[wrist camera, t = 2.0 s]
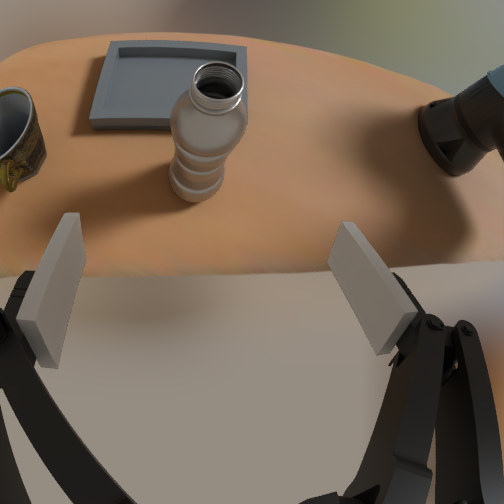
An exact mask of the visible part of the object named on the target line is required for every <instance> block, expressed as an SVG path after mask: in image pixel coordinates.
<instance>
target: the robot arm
mask: <svg viewBox="0 0 504 504" xmlns="http://www.w3.org/2000/svg"><path fill="white" fill-rule="evenodd" d="M418 125H419V130H420V134H421V137H422V139H423V142H424V144H425V146H426V148H427V150H428V151H429V153H430V154H431V156H432V157H433V159H434V160H435V161H436V162H437V163H438V165H439V166H440V167H442V168H443V169H444V170H445V171H447V172H448V173H450V174H452V175H456V176H460V175H463V174H465V173H467V172H469V171H471V170H472V169H473V168H474V167H475V166H476V165H477V164H478V163H479V161H480V160H481V159H482V158H483V157H484V156H485V155H486V154H487V153H488V152H490V151H492V150H494V149H497V150H498V152H499V154H500V156H501V158H502V160H503V162H504V65H501V66H500V67H498V68H496V69H495V70H493V71H489V72H488V73H487V75H486V76H485V77H483V78H481V79H480V80H479V81H477V82H476V83H474V84H473V85H471V86H470V87H468V88H467V89H465V90H464V91H462V92H461V93H459V94H458V95H456V96H455V97H451V98H446V99H442V100H437V101H433V102H430V103H429V104H427V105H426V106H425V107H423V108H422V109H421V111H420V113H419V116H418ZM85 262H86V254H85V248H84V242H83V236H82V229H81V222H80V214H79V213H64V215H63V217H62V219H61V221H60V222H59V224H58V226H57V228H56V230H55V232H54V234H53V236H52V238H51V240H50V242H49V244H48V246H47V248H46V250H45V252H44V254H43V256H42V258H41V260H40V262H39V265H38V267H37V269H36V271H25V272H24V273H23V274H22V275H21V276H20V277H19V278H18V279H17V282H16V284H15V286H14V290H12V293H11V295H10V297H9V299H8V302H7V304H6V307H5V309H4V311H3V310H2V308H0V389H1V388H2V389H3V391H4V393H5V395H6V397H7V399H8V401H9V403H10V405H11V407H12V409H13V411H14V413H15V415H16V417H17V419H18V421H19V423H20V424H21V426H22V428H23V430H24V431H25V433H26V435H27V436H28V438H29V440H30V442H31V443H32V445H33V447H34V448H35V450H36V451H37V453H38V454H39V456H40V458H41V459H42V461H43V462H44V464H45V465H46V467H47V468H48V470H49V471H50V473H51V474H52V476H53V477H54V478H55V480H56V481H57V483H58V484H59V485H60V487H61V488H62V489H63V491H64V492H65V493H66V495H67V496H68V497H69V499H70V500H71V501H72V502H73V504H137V503H136V502H135V501H134V500H133V499H132V498H131V497H130V496H129V495H128V494H127V493H126V492H125V491H124V490H123V489H122V488H121V487H120V485H119V484H118V483H117V482H116V481H115V480H114V479H113V478H112V477H111V475H110V474H109V473H108V472H107V471H106V470H105V468H104V467H103V466H102V465H101V464H100V463H99V461H98V460H97V459H96V458H95V457H94V455H93V454H92V453H91V452H90V450H89V449H88V448H87V446H86V445H85V444H84V443H83V441H82V440H81V439H80V437H79V436H78V435H77V433H76V432H75V431H74V429H73V428H72V426H71V425H70V424H69V422H68V421H67V419H66V418H65V416H64V415H63V414H62V412H61V411H60V409H59V408H58V406H57V405H56V403H55V401H54V400H53V399H52V397H51V395H50V394H49V392H48V390H47V389H46V387H45V385H44V384H43V382H42V380H41V379H40V377H39V375H38V374H37V372H36V370H35V368H34V365H35V361H36V359H37V361H38V363H39V365H40V366H41V367H45V368H54V369H58V366H59V361H60V356H61V352H62V347H63V342H64V338H65V334H66V330H67V326H68V322H69V318H70V313H71V310H72V306H73V303H74V299H75V295H76V292H77V288H78V285H79V282H80V278H81V275H82V272H83V269H84V266H85ZM327 264H328V265H329V267H330V269H331V271H332V272H333V274H334V276H335V278H336V280H337V281H338V283H339V285H340V287H341V289H342V290H343V292H344V294H345V296H346V298H347V300H348V302H349V304H350V305H351V307H352V309H353V311H354V313H355V315H356V317H357V318H358V320H359V322H360V324H361V326H362V328H363V330H364V332H365V334H366V336H367V338H368V340H369V342H370V344H371V346H372V348H373V350H374V351H375V353H376V355H382V354H388V353H390V352H391V351H392V349H393V348H394V346H395V345H397V347H398V349H399V351H398V352H397V354H396V355H395V356H394V358H393V359H392V360H391V362H390V363H389V366H391V365H392V363H394V364H393V368H392V372H391V375H390V379H389V383H388V386H387V389H386V393H385V396H384V399H383V403H382V406H381V409H380V413H379V415H378V418H377V422H376V425H375V428H374V431H373V434H372V436H371V439H370V442H369V445H368V447H367V450H366V453H365V455H364V458H363V460H362V463H361V466H360V468H359V471H358V473H357V475H356V477H355V479H354V480H353V482H352V483H351V484H350V485H349V487H348V488H347V489H346V491H345V493H344V494H343V496H338V494H337V492H333V493H329V494H325V495H322V496H318V497H314V498H310V499H307V500H305V501H303V502H301V503H299V504H425V503H426V499H427V496H428V492H429V489H430V485H431V481H432V474H433V473H432V470H430V469H429V468H427V461H428V456H429V452H430V447H431V443H432V438H433V432H434V428H435V436H436V484H435V504H504V477H503V463H502V451H501V443H500V435H499V428H498V421H497V415H496V409H495V404H494V398H493V393H492V388H491V383H490V379H489V375H488V370H487V366H486V362H485V359H484V354H483V351H482V347H481V343H480V340H479V337H478V333H477V331H476V329H475V327H474V326H473V325H472V324H471V323H470V322H468V321H465V320H460V321H458V322H457V324H456V325H455V326H454V327H450V326H445V325H444V324H443V322H442V321H441V320H440V319H439V318H438V317H436V316H435V315H432V314H426V313H425V311H424V310H423V308H422V307H421V305H420V304H419V302H418V301H417V300H416V298H415V297H414V295H413V294H412V292H411V291H410V289H409V288H407V285H406V284H405V282H404V281H403V280H402V279H401V278H400V277H399V276H398V275H396V274H395V273H391V271H390V270H389V268H388V267H387V266H386V264H385V263H384V262H383V260H382V259H381V258H380V256H379V255H378V254H377V252H376V251H375V250H374V248H373V247H372V246H371V244H370V243H369V242H368V240H367V239H366V238H365V236H364V235H363V234H362V232H361V231H360V230H359V229H358V227H357V226H356V225H355V223H354V222H342V221H341V224H340V227H339V230H338V233H337V236H336V239H335V241H334V244H333V247H332V250H331V253H330V255H329V258H328V261H327ZM457 362H458V368H457V369H456V368H455V364H456V363H457ZM0 504H31V501H30V499H29V496H28V494H27V492H26V489H25V486H24V484H23V481H22V479H21V476H20V473H19V470H18V467H17V464H16V461H15V458H14V455H13V452H12V449H11V445H10V442H9V438H8V435H7V431H6V427H5V423H4V420H3V416H2V411H1V406H0Z"/></svg>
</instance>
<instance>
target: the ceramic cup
mask: <svg viewBox="0 0 504 504" xmlns="http://www.w3.org/2000/svg"><path fill="white" fill-rule="evenodd" d="M46 156H47V154H46V149H45V144H44V139H43V136H42V133H41V130H40V127H39V124H38V118H37V113H36V110H35V106H34V103H33V100H32V98H31V96H30V94H29V93H28V92H27V91H26V90H24V89H22V88H20V87H8V88H4V89H1V90H0V179H1V182H2V184H3V186H4V187H5V188H6V189H7V191H9V192H13V191H15V189H16V187H17V182H18V181H25V180H27V179H28V178H30V177H32V176H34V175H36V174H37V173H38V171H39V169H40V168H41V166H42V164H43V162H44V160H45V158H46ZM9 177H11V178H13V179H14V181H13V184H12V186H11V184H10V181H9Z"/></svg>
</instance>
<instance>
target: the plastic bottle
mask: <svg viewBox="0 0 504 504" xmlns="http://www.w3.org/2000/svg"><path fill="white" fill-rule="evenodd" d="M243 88H244V78H243V76H242V74H241V72H240V71H239V70H238V69H237V68H236V67H234V66H233V65H231V64H229V63H226V62H221V61H213V62H208V63H205V64H203V65H201V66H200V67H199V68H197V70H196V71H195V73H194V74H193V77H192V82H191V85H190V88H189V89H187V90H186V91H185V92H184V93H182V94H181V95H180V97H179V98H178V99H177V101H176V103H175V104H174V106H173V108H172V111H171V115H170V126H171V132H172V135H173V139H174V143H175V153H174V157H173V159H172V161H171V164H170V167H169V181H170V184H171V186H172V188H173V190H174V191H175V193H176V194H177V195H178V196H179V197H180V198H182V199H184V200H186V201H189V202H201V201H205V200H207V199H209V198H210V197H211V196H213V195H214V194H215V193H216V192H217V191H218V190H219V189H220V187H221V185H222V183H223V180H224V171H225V168H224V165H225V161H226V159H227V157H228V155H229V154H230V152H231V151H232V150H233V149H234V148H235V146H236V145H237V144H238V143H239V141H240V140H241V138H242V136H243V135H244V133H245V130H246V127H247V114H246V108H245V105H244V103H243V101H242V99H241V97H242V91H243Z"/></svg>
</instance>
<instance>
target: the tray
mask: <svg viewBox="0 0 504 504" xmlns="http://www.w3.org/2000/svg"><path fill="white" fill-rule="evenodd" d="M213 61H221V62H226V63H229V64H231V65H233V66H234V67H236V68H237V69H238V70H239V71H240V72H241V74H242V76H243V78H244V88H243V91H242V97H241V99H242V101H243V103H244V105H245V108H246V114H247V124H248V112H247V47H244V46H236V45H227V44H217V43H206V42H191V41H169V40H129V41H111V43H110V46H109V49H108V52H107V55H106V58H105V61H104V64H103V67H102V71H101V74H100V78H99V81H98V85H97V88H96V92H95V96H94V100H93V104H92V108H91V112H90V116H89V120H90V123H91V125H92V128H93V130H124V129H143V130H171V126H170V115H171V111H172V108H173V106H174V104H175V103H176V101H177V99H178V98H179V97H180V95H181V94H182V93H184V92H185V91H186V90H187V89H189V88H190V85H191V82H192V77H193V74H194V73H195V71H196V70H197V68H199V67H200V66H201V65H203V64H205V63H208V62H213Z"/></svg>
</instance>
